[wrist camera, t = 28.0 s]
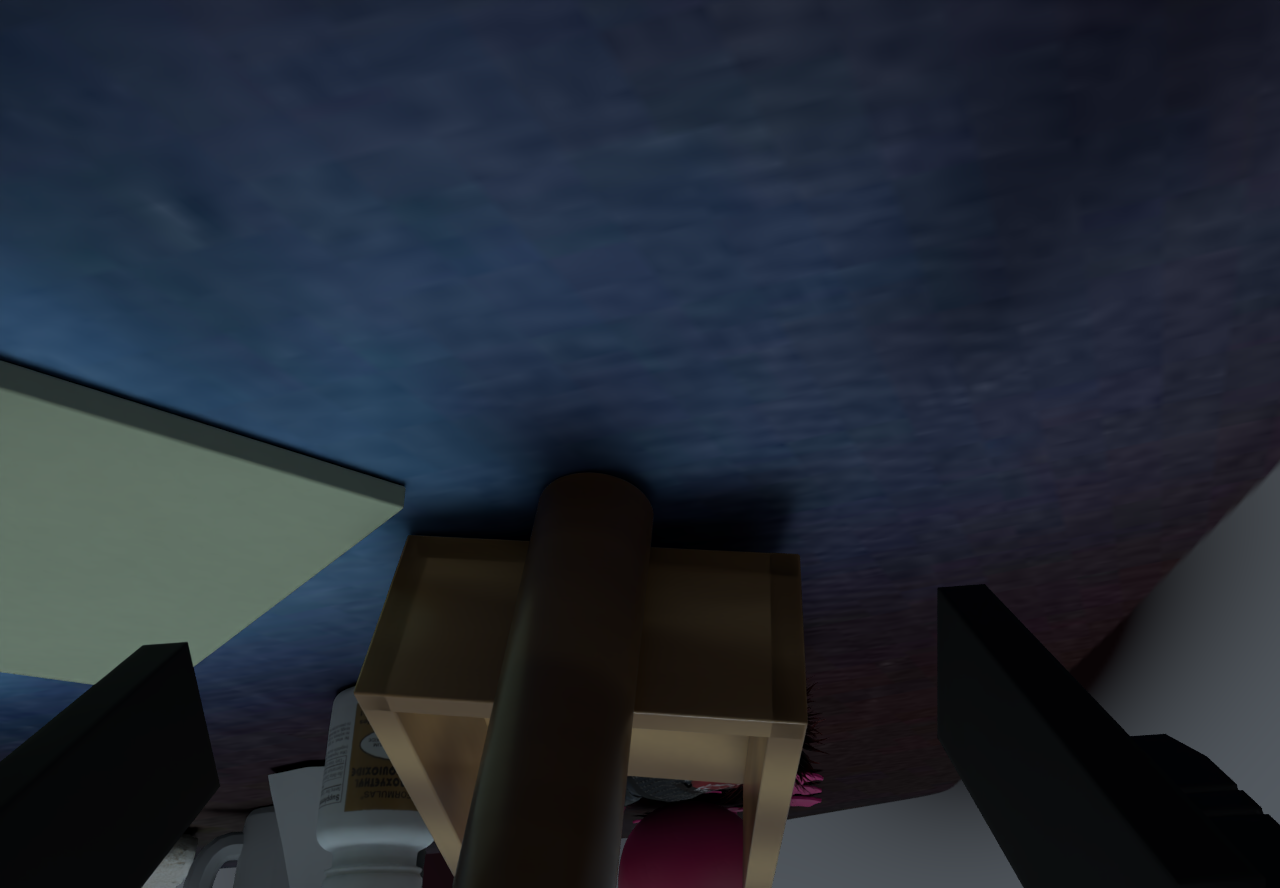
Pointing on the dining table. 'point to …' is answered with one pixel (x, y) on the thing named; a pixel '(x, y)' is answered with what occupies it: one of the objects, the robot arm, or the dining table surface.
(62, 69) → the dining table surface
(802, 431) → the dining table surface
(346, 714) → the pill bottle
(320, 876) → the flask
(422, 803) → the open wooden box
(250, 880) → the cup
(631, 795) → the figurine
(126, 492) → the placemat
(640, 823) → the hatching egg
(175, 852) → the washcloth
